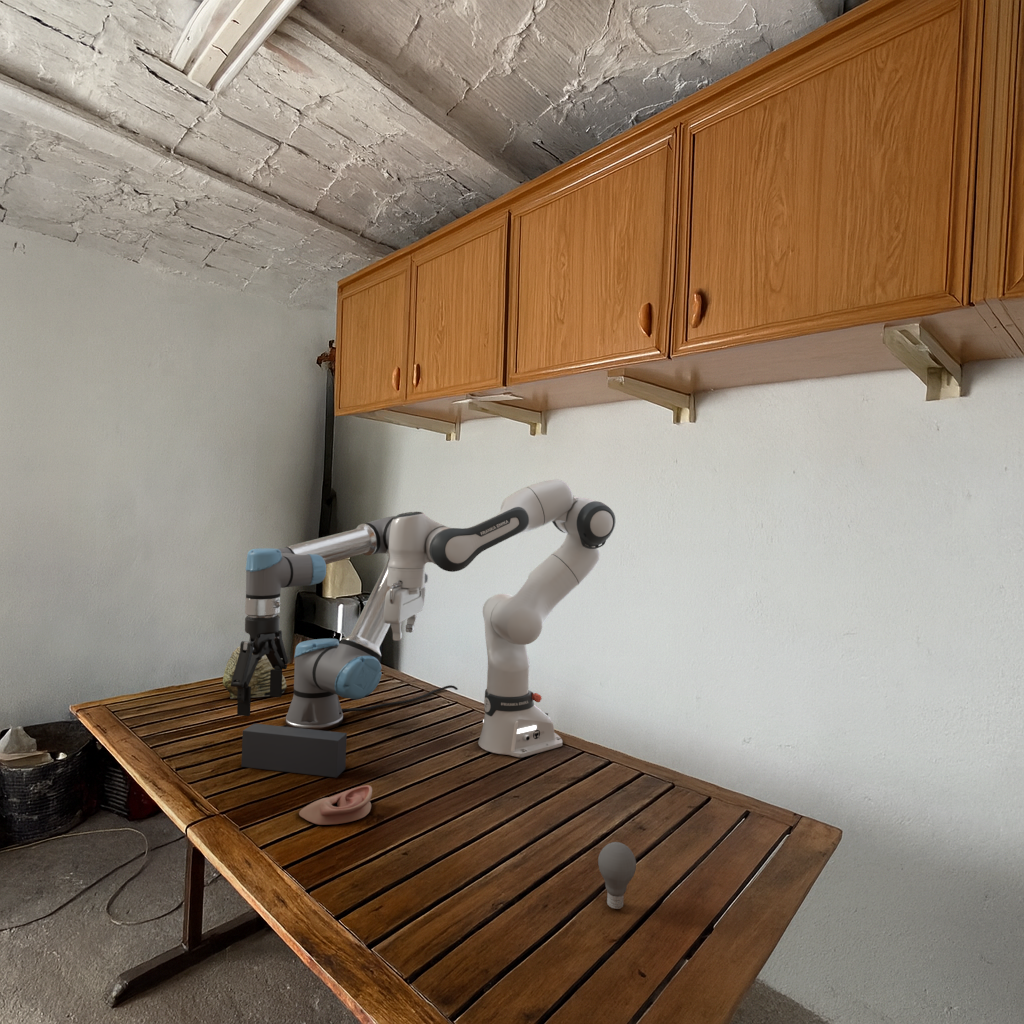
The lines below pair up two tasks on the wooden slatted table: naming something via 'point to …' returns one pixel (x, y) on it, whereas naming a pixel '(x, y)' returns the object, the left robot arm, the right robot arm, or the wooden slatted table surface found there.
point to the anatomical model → (339, 807)
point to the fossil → (258, 680)
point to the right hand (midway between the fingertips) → (403, 635)
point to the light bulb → (616, 871)
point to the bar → (294, 750)
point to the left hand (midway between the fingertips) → (260, 705)
